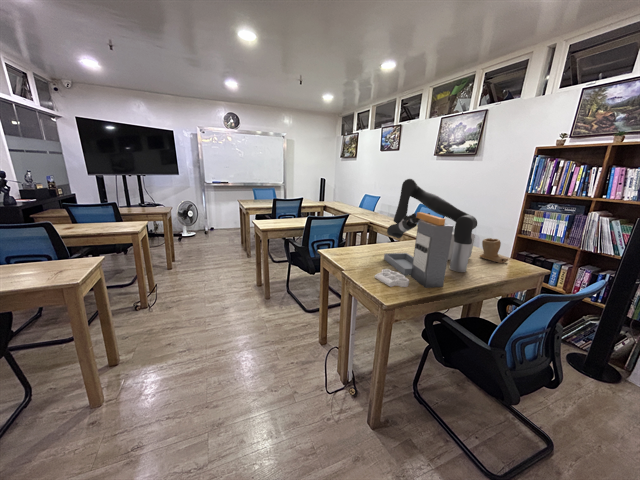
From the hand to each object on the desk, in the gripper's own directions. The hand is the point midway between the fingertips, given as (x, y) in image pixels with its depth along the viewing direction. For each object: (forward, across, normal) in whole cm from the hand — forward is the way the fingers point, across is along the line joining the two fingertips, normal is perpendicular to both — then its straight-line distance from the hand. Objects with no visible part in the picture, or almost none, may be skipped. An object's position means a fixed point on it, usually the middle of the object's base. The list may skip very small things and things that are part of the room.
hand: (422, 214), depth 137 cm
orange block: (+5, 0, +5) cm, 7 cm away
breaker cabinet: (-7, 0, +36) cm, 36 cm away
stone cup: (-30, +66, +22) cm, 76 cm away
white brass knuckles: (-10, -18, +34) cm, 40 cm away
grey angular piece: (-36, +40, +19) cm, 57 cm away
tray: (-26, 0, +24) cm, 36 cm away
